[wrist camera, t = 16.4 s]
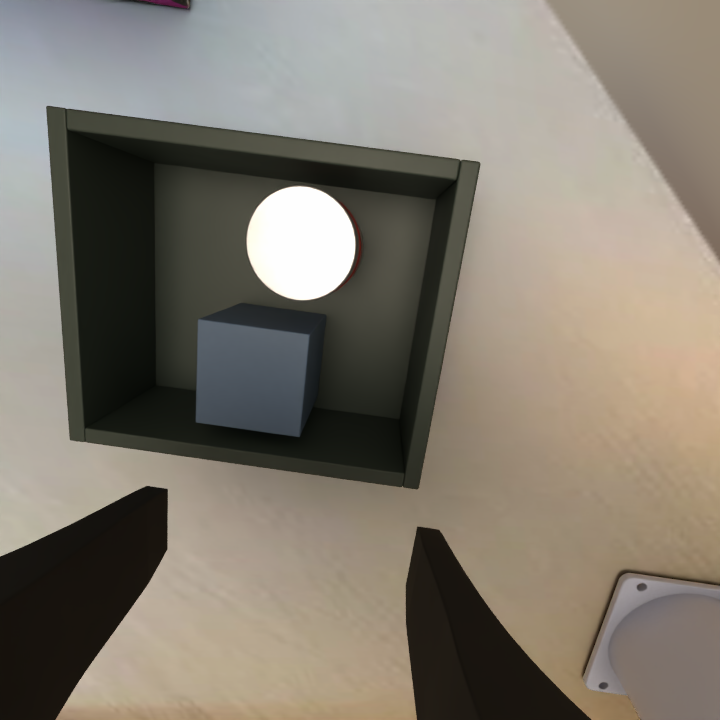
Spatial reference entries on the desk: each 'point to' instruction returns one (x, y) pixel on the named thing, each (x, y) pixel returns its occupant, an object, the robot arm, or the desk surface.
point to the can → (303, 243)
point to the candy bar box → (169, 2)
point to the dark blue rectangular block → (259, 368)
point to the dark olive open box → (249, 288)
